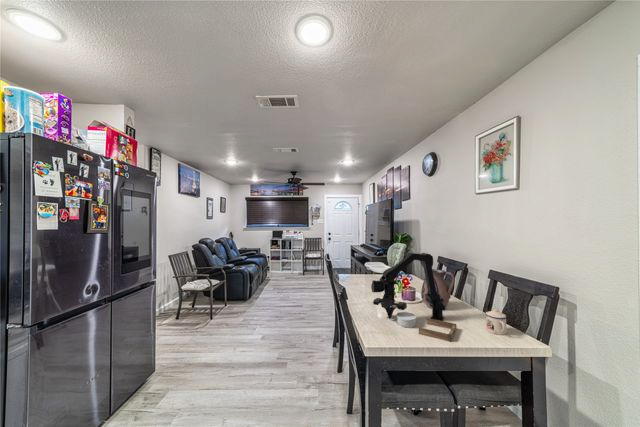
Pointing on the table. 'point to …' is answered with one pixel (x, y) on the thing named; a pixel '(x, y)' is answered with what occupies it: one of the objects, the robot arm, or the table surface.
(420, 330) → the walnut dock
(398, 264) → the robot arm
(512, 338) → the table surface
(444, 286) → the ceramic pitcher
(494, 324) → the teacup with lid
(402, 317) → the ramekin
